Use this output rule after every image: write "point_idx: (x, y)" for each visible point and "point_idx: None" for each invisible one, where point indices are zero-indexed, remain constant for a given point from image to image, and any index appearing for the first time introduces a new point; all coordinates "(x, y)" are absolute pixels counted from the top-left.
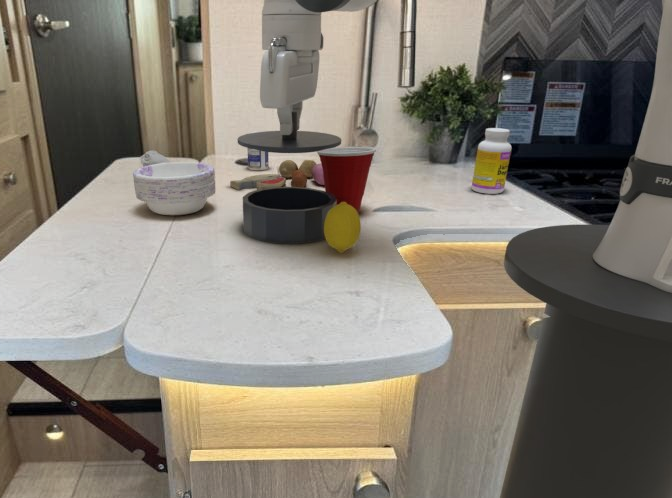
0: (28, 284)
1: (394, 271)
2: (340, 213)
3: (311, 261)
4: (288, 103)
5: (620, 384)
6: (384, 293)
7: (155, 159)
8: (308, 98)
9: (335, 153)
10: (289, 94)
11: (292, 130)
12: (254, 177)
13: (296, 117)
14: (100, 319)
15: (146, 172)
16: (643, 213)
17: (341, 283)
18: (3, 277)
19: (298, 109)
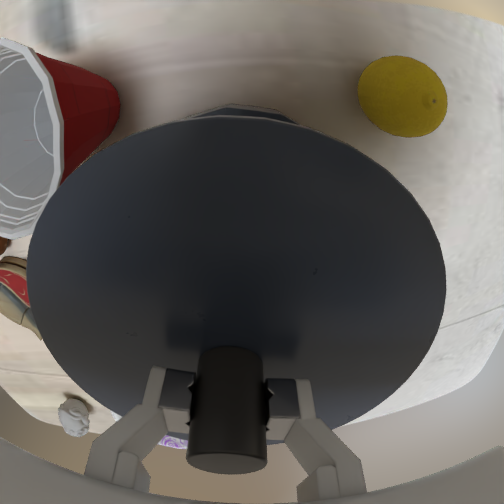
0: (422, 388)
1: (441, 24)
2: (446, 110)
3: (418, 149)
4: (478, 468)
5: None
6: (499, 65)
7: (78, 426)
8: (24, 452)
9: (56, 161)
10: (480, 501)
11: (280, 387)
12: (8, 312)
13: (238, 431)
14: (493, 322)
15: (175, 439)
16: None
17: (483, 112)
18: (404, 404)
19: (127, 448)
